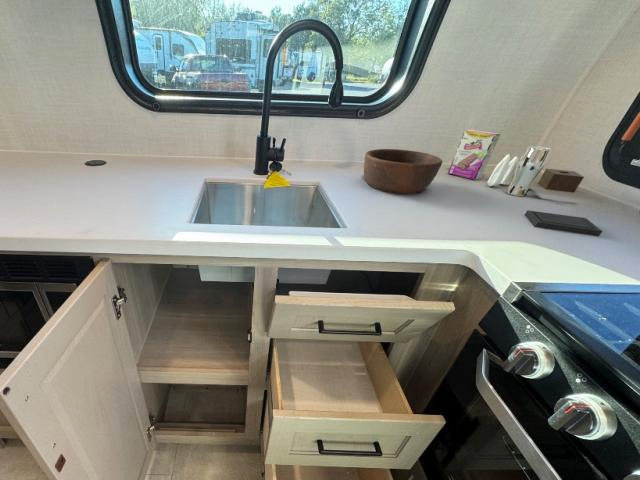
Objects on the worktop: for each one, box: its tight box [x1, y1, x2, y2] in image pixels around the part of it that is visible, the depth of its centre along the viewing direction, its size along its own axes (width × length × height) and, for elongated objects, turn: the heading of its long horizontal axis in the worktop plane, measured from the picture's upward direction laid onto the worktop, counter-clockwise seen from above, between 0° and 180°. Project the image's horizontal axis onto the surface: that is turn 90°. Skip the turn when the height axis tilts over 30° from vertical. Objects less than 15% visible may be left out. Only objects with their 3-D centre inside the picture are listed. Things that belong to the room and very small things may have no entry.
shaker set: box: [487, 153, 519, 187], centre depth 116 cm, size 12×4×11 cm, turn 119°
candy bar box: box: [447, 129, 502, 181], centre depth 124 cm, size 11×5×16 cm, turn 34°
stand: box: [537, 168, 585, 193], centre depth 111 cm, size 8×8×7 cm
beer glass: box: [505, 145, 554, 197], centre depth 107 cm, size 7×7×15 cm
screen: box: [534, 211, 594, 229], centre depth 88 cm, size 11×8×1 cm
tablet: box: [524, 209, 603, 237], centre depth 88 cm, size 14×10×2 cm
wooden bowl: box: [363, 148, 443, 194], centre depth 113 cm, size 25×25×10 cm
